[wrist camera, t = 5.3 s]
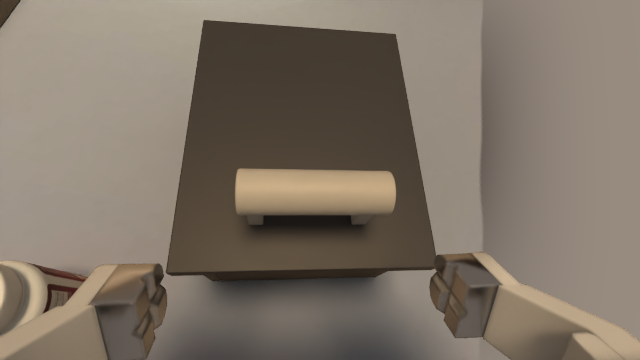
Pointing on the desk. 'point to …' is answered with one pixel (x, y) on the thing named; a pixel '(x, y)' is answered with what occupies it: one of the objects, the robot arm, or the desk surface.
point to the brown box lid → (299, 156)
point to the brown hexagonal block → (6, 9)
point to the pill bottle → (32, 292)
